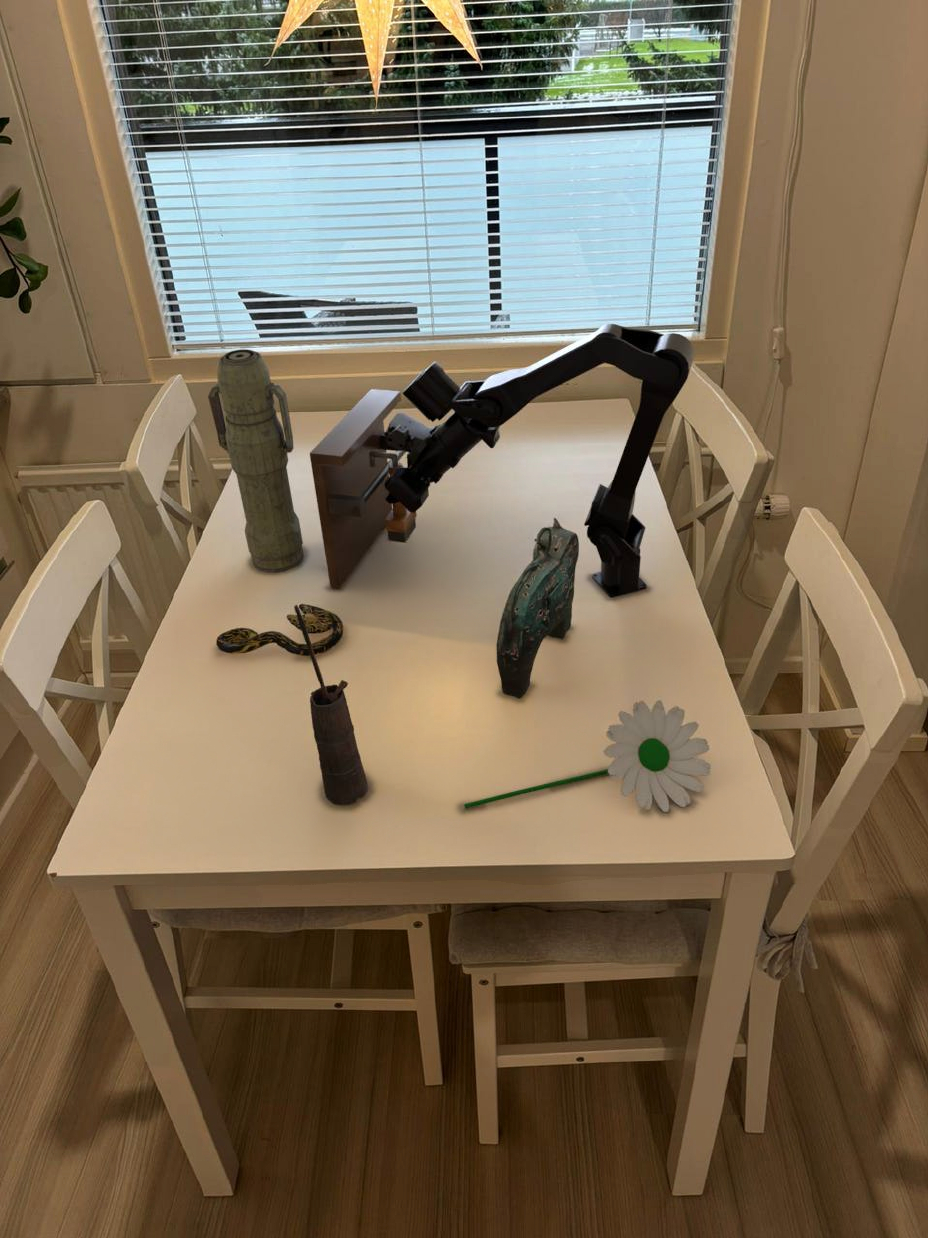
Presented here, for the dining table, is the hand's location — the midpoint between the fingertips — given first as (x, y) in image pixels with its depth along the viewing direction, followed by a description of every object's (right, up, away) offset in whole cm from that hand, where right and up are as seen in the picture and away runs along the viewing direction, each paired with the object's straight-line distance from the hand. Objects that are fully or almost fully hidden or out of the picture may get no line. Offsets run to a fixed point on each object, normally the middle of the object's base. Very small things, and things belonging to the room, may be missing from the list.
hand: (390, 497), depth 148 cm
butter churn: (-2, -40, -36) cm, 53 cm away
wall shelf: (-2, -8, +7) cm, 11 cm away
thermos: (-19, -9, +7) cm, 23 cm away
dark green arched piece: (+22, -25, -18) cm, 38 cm away
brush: (0, -5, +4) cm, 7 cm away
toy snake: (-15, -23, -12) cm, 30 cm away
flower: (+26, -39, -37) cm, 60 cm away
